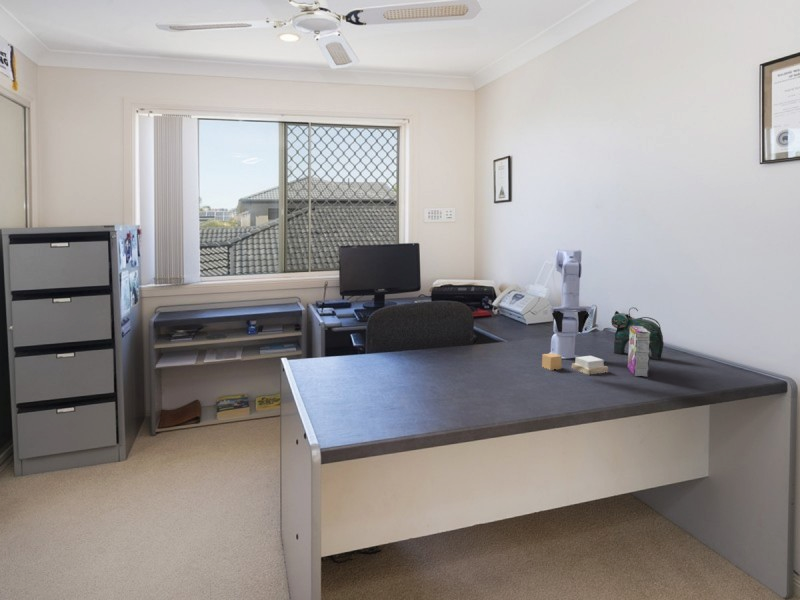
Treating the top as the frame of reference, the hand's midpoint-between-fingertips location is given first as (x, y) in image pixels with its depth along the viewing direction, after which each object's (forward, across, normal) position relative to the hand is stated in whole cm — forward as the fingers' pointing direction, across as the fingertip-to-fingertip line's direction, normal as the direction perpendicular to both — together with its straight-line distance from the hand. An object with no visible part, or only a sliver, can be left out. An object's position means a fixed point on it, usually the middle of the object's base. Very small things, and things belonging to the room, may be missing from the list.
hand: (569, 332), depth 189 cm
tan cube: (+13, -9, +6) cm, 17 cm away
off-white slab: (+11, +3, +11) cm, 16 cm away
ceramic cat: (+6, +10, +45) cm, 46 cm away
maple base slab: (+14, +3, +12) cm, 18 cm away
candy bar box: (+13, +18, +20) cm, 30 cm away
